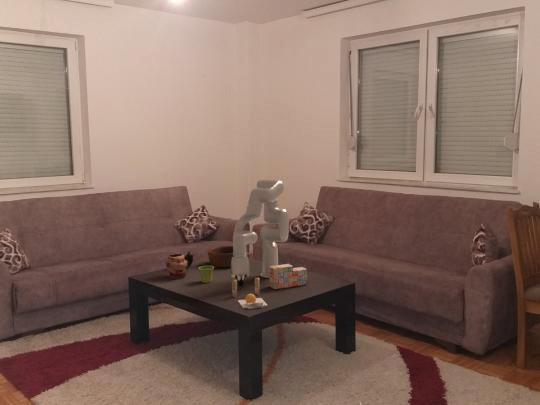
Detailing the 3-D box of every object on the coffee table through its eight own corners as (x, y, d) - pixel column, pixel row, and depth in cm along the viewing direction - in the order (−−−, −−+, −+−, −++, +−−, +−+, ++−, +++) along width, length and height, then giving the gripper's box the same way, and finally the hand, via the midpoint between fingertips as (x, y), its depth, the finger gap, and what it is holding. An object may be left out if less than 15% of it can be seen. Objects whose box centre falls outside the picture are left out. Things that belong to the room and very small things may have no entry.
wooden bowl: (250, 261, 381) (250, 247, 380) (235, 270, 358) (235, 254, 357) (218, 259, 390) (217, 244, 389) (201, 267, 367) (200, 252, 365)
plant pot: (211, 284, 327) (211, 269, 326) (196, 283, 329) (196, 269, 328) (216, 279, 336) (216, 265, 335) (201, 279, 338) (201, 265, 337)
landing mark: (261, 298, 298) (261, 297, 298) (267, 305, 285) (267, 305, 285) (237, 300, 294) (237, 300, 294) (243, 308, 282) (243, 307, 282)
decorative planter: (159, 275, 349) (158, 253, 347) (176, 271, 357) (175, 250, 355) (176, 281, 334) (175, 258, 332) (193, 277, 341) (192, 255, 340)
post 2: (258, 293, 307) (258, 277, 305) (260, 294, 304) (259, 278, 303) (254, 293, 306) (254, 278, 305) (255, 295, 303) (255, 279, 302)
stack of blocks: (302, 282, 329) (302, 261, 327) (307, 284, 323) (307, 264, 321) (269, 286, 320) (269, 265, 319) (273, 289, 314) (273, 268, 313)
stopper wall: (262, 306, 284) (262, 301, 284) (263, 307, 283) (263, 302, 282) (247, 308, 282) (247, 303, 281) (248, 308, 280) (247, 304, 280)
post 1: (236, 295, 303) (236, 279, 302) (237, 297, 301) (237, 280, 299) (231, 296, 302) (231, 280, 301) (232, 297, 300) (232, 281, 299)
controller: (194, 266, 369) (194, 252, 368) (179, 270, 361) (178, 255, 359) (190, 265, 372) (190, 251, 371) (175, 268, 364) (174, 254, 362)
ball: (256, 306, 286) (254, 301, 291) (257, 296, 285) (255, 291, 290) (246, 306, 285) (244, 302, 290) (246, 296, 283) (244, 292, 289)
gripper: (251, 252, 319) (251, 283, 321) (225, 254, 315) (226, 285, 317) (254, 255, 312) (255, 287, 314) (228, 257, 307) (229, 289, 310)
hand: (240, 286), depth 315 cm, fingers closed
